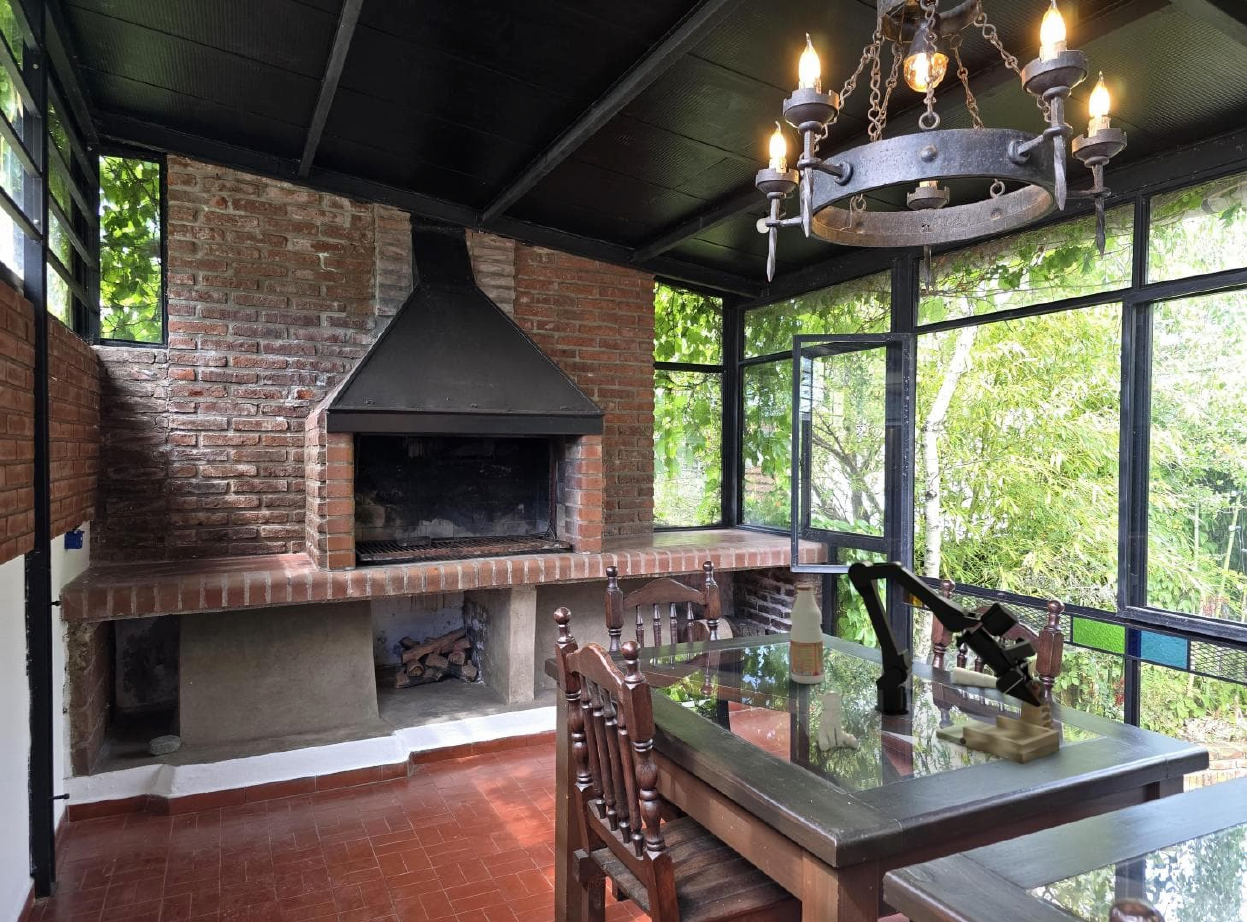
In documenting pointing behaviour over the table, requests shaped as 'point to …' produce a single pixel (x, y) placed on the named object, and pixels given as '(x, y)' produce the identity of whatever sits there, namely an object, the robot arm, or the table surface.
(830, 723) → the beige lumpy upright piece
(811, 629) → the fruit juice
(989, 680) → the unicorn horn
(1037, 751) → the shallow wooden tray
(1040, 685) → the figurine
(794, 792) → the table surface
